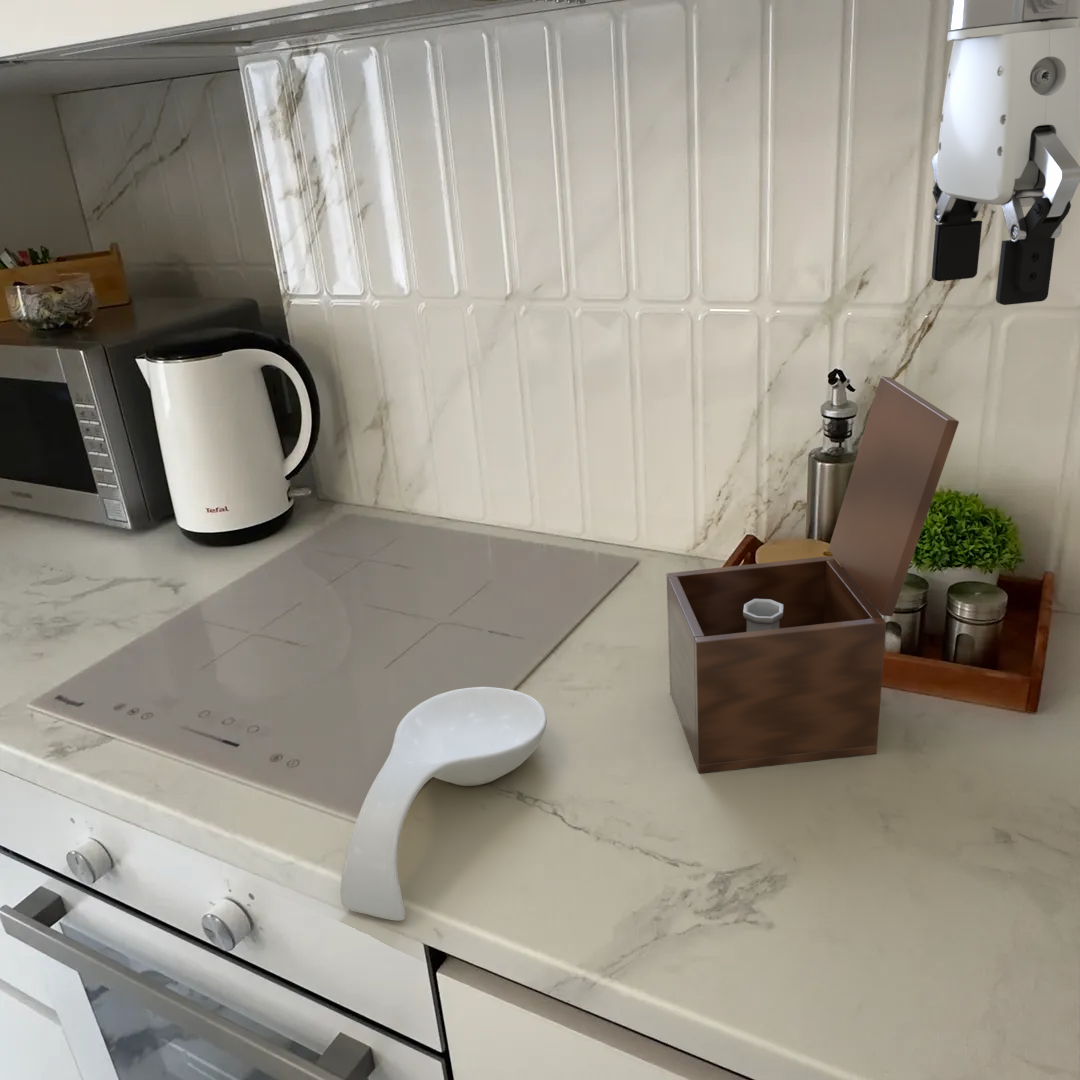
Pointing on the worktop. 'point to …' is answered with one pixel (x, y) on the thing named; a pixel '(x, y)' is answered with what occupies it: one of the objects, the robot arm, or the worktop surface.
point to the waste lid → (891, 491)
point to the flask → (762, 614)
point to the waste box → (774, 665)
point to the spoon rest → (418, 755)
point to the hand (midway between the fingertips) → (985, 289)
